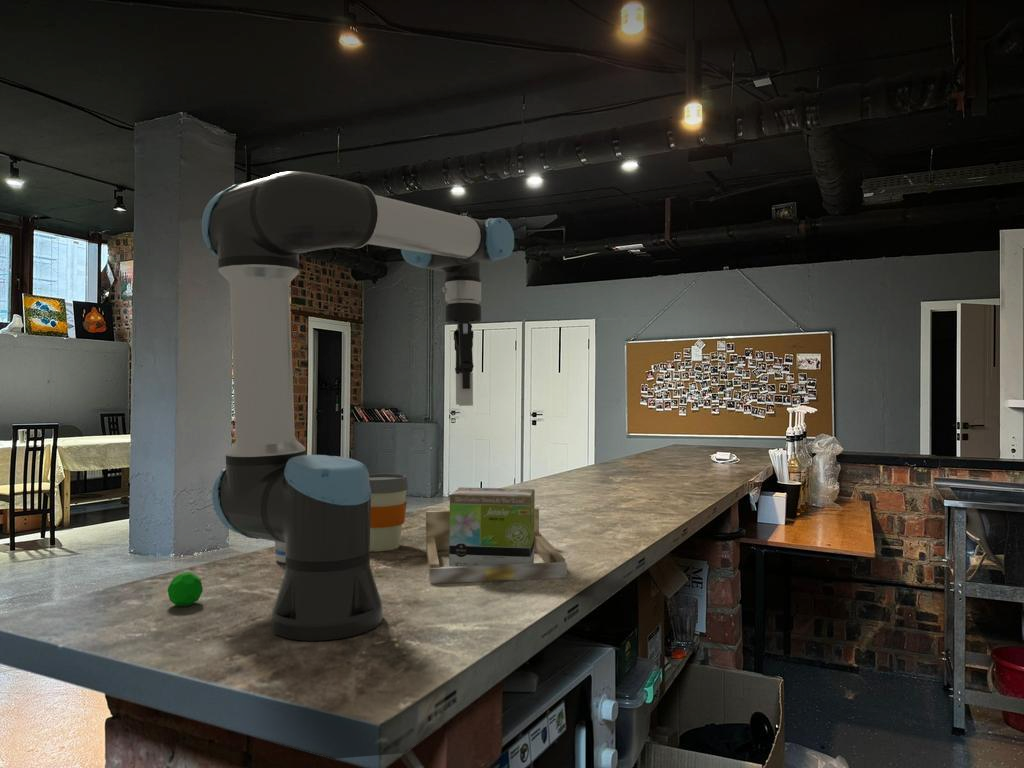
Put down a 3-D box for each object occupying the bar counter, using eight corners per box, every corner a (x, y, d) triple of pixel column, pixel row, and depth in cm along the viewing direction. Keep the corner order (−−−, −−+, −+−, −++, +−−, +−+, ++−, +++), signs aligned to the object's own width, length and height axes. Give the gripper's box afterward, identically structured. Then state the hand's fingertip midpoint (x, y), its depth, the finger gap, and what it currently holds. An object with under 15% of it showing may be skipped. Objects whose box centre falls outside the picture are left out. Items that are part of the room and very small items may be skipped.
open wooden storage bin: (430, 584, 120) (430, 537, 121) (425, 548, 148) (425, 510, 149) (567, 578, 124) (566, 532, 124) (537, 544, 152) (537, 507, 152)
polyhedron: (162, 610, 107) (162, 578, 107) (175, 600, 111) (175, 570, 112) (196, 609, 107) (196, 577, 107) (207, 599, 112) (207, 569, 112)
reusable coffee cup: (380, 555, 142) (380, 481, 143) (335, 549, 149) (335, 478, 149) (420, 544, 153) (419, 475, 153) (376, 538, 160) (376, 472, 160)
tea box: (448, 575, 126) (447, 493, 127) (458, 562, 136) (457, 486, 137) (531, 577, 125) (531, 494, 125) (535, 564, 135) (535, 486, 135)
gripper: (443, 310, 159) (444, 404, 159) (447, 295, 134) (448, 406, 134) (476, 310, 160) (477, 403, 160) (486, 295, 135) (487, 405, 135)
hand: (464, 405), depth 147 cm, fingers open, 13 cm apart
